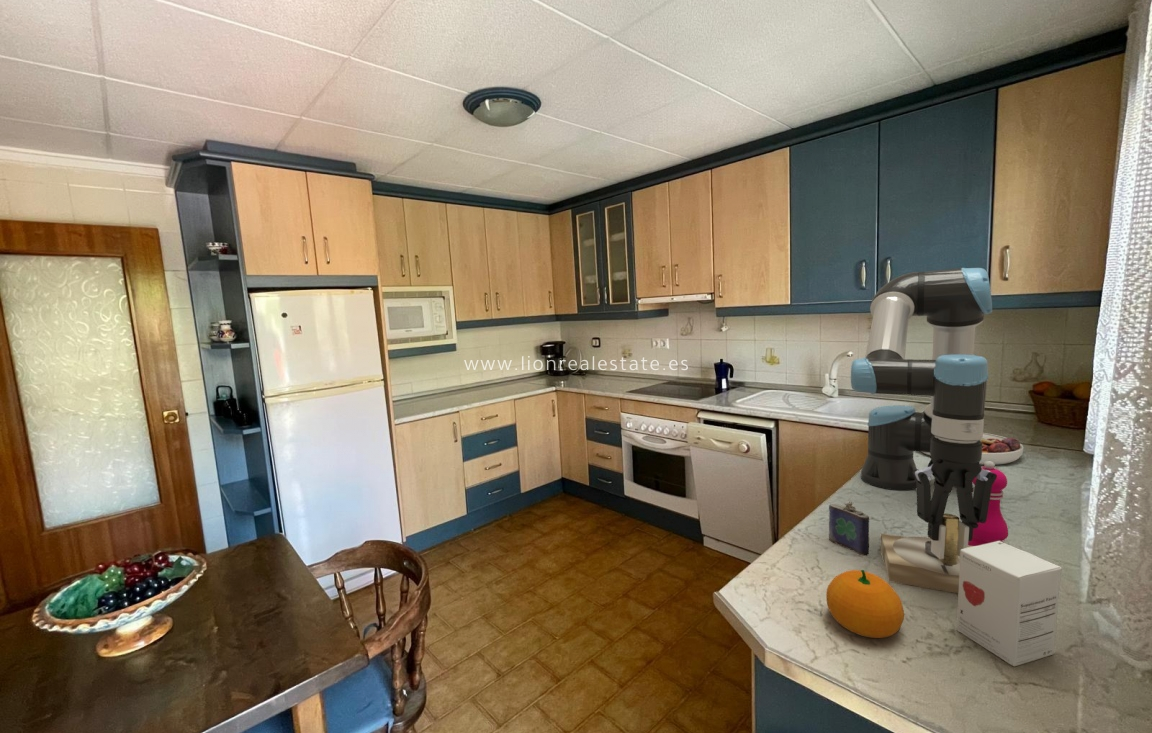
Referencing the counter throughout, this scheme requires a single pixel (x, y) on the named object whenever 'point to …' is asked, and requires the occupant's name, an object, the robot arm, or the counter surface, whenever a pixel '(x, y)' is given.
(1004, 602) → the supplement box
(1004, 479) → the pepper mill
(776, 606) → the counter surface
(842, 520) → the flask
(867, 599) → the fruit
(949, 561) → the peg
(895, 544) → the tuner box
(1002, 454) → the bowl
